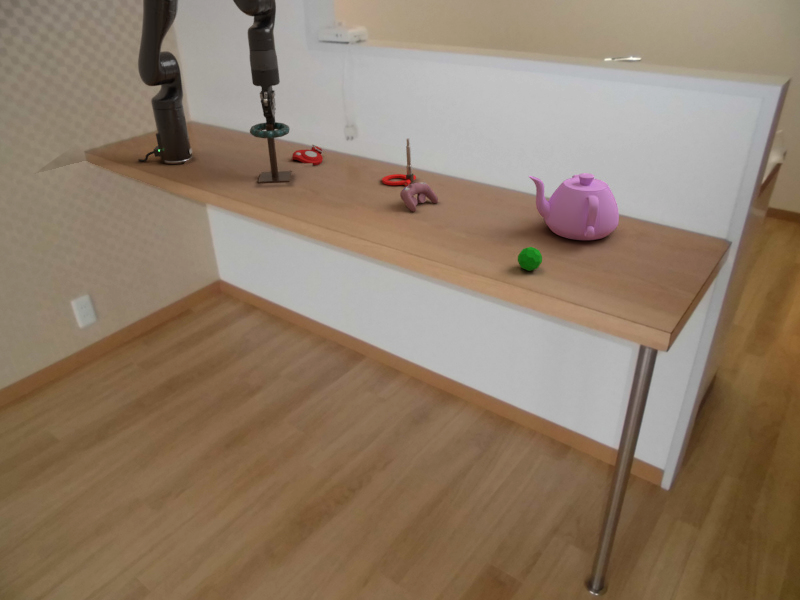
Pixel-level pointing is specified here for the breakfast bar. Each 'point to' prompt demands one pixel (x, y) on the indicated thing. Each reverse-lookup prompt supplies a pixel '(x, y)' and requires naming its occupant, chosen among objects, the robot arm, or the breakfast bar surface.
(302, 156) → the tracker holder
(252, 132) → the ring
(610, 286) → the breakfast bar surface
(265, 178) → the brown peg stand
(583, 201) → the teapot
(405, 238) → the breakfast bar surface
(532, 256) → the polyhedron
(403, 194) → the video game controller
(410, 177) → the tow hook
